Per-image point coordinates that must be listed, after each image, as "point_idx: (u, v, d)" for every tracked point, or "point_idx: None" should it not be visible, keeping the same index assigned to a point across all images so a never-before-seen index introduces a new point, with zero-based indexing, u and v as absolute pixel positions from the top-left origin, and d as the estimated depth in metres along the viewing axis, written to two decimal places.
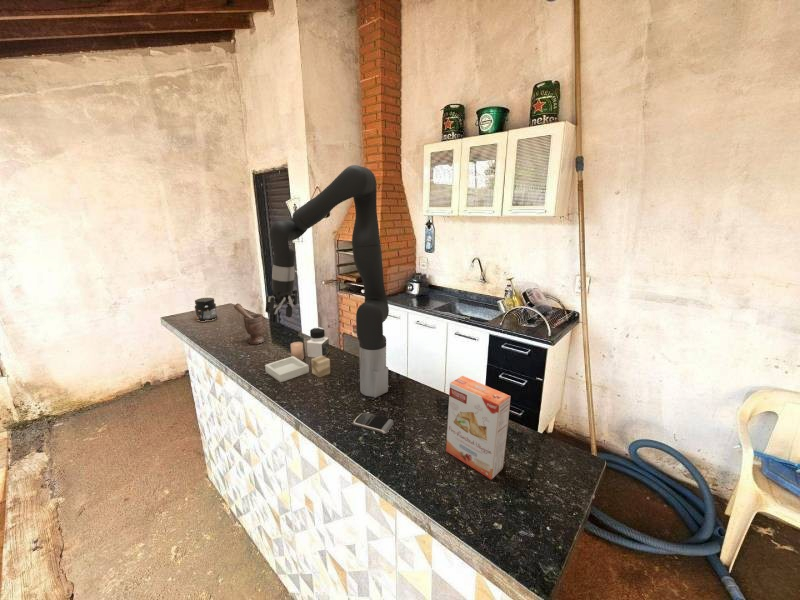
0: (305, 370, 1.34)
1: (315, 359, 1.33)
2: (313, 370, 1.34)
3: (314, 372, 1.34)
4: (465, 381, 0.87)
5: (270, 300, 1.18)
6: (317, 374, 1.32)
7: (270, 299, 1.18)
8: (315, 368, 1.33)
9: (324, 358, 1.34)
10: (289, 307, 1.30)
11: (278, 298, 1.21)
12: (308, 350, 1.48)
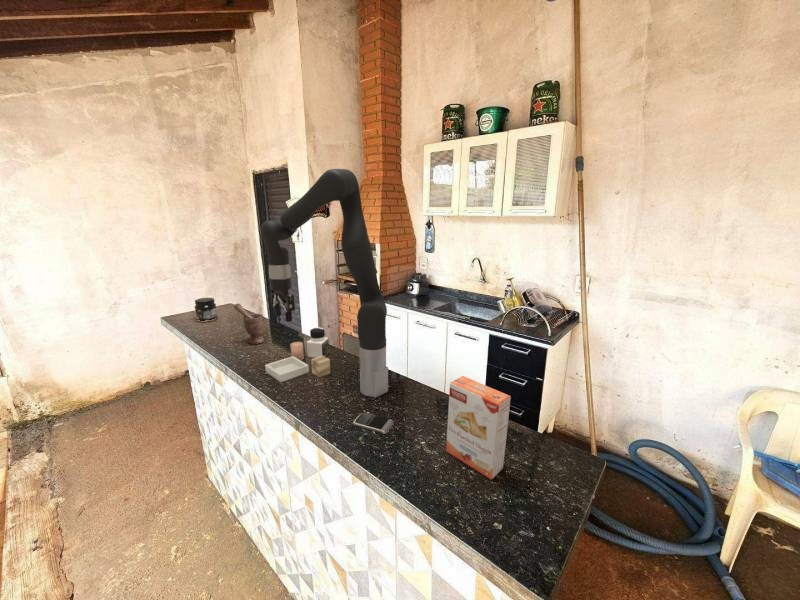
0: (305, 370, 1.34)
1: (315, 359, 1.33)
2: (313, 370, 1.34)
3: (314, 372, 1.34)
4: (465, 381, 0.87)
5: None
6: (317, 374, 1.32)
7: None
8: (315, 368, 1.33)
9: (324, 358, 1.34)
10: None
11: (274, 293, 1.29)
12: (308, 350, 1.48)
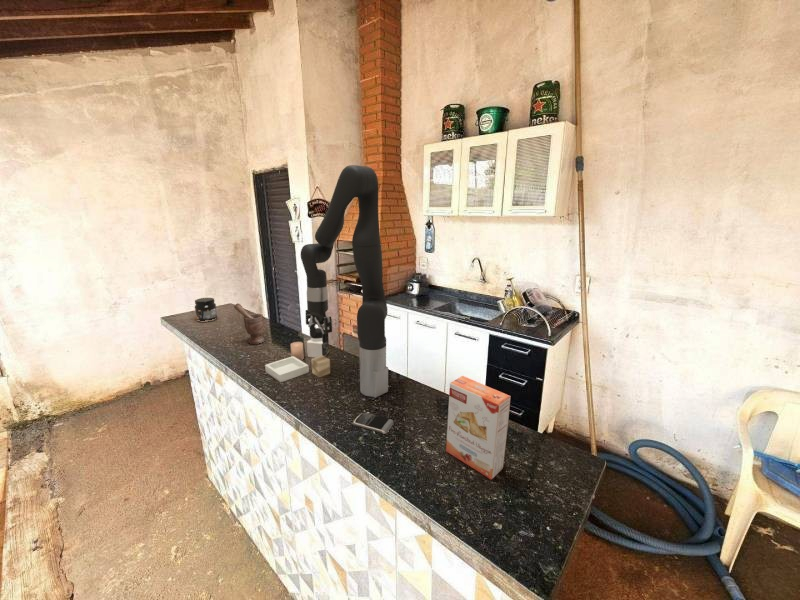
0: (305, 370, 1.34)
1: (315, 359, 1.33)
2: (313, 370, 1.34)
3: (314, 372, 1.34)
4: (465, 381, 0.87)
5: None
6: (317, 374, 1.32)
7: None
8: (315, 368, 1.33)
9: (324, 358, 1.34)
10: None
11: (310, 314, 1.30)
12: (308, 350, 1.48)
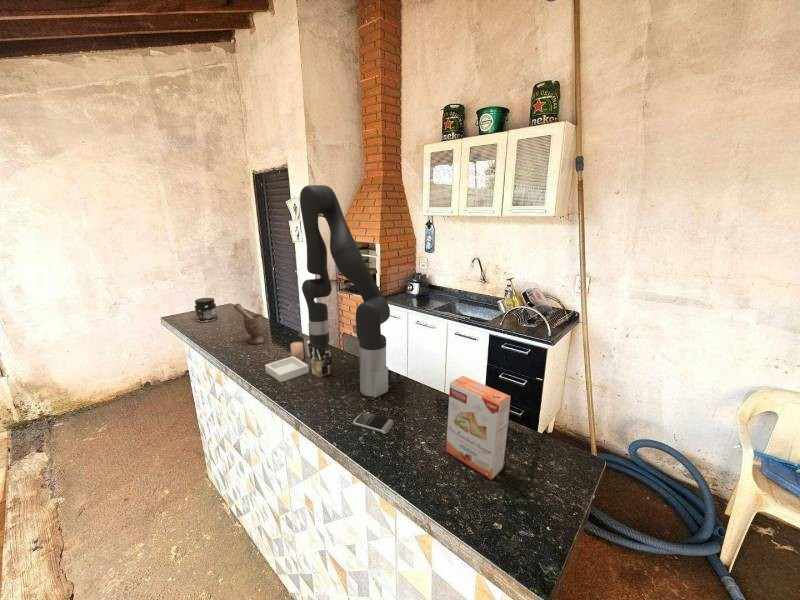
0: (305, 370, 1.34)
1: (315, 359, 1.33)
2: (313, 370, 1.34)
3: (314, 372, 1.34)
4: (465, 381, 0.87)
5: None
6: (317, 374, 1.32)
7: None
8: (315, 368, 1.33)
9: None
10: None
11: (312, 347, 1.34)
12: (308, 350, 1.48)
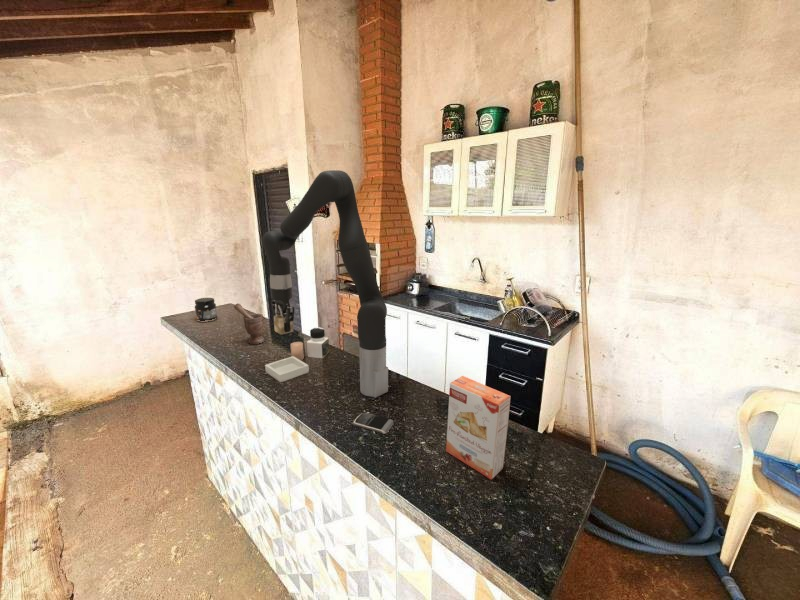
0: (305, 370, 1.34)
1: (277, 316, 1.29)
2: (275, 327, 1.30)
3: (276, 329, 1.30)
4: (465, 381, 0.87)
5: None
6: (279, 331, 1.28)
7: None
8: (277, 325, 1.29)
9: None
10: None
11: (275, 304, 1.30)
12: (308, 350, 1.48)
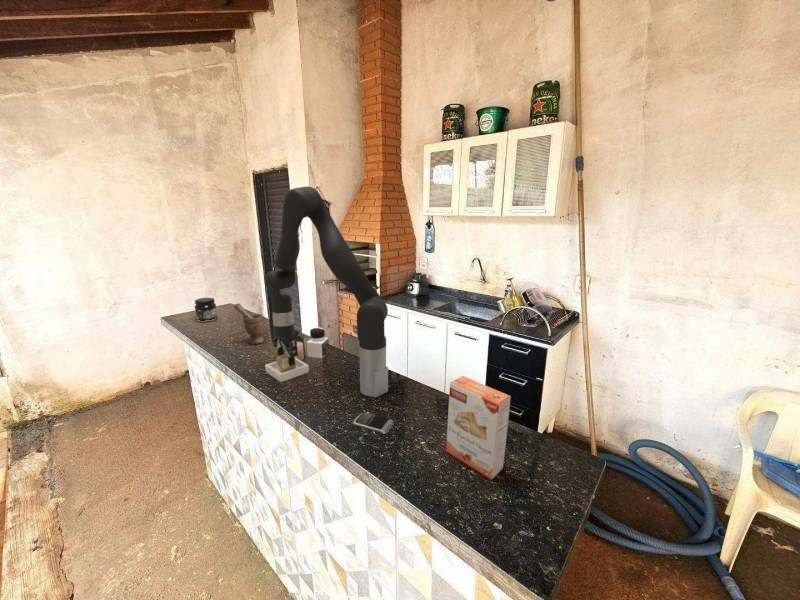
0: (305, 370, 1.34)
1: (280, 356, 1.34)
2: (279, 367, 1.34)
3: (280, 369, 1.34)
4: (465, 381, 0.87)
5: None
6: (282, 371, 1.33)
7: None
8: (280, 365, 1.33)
9: None
10: None
11: (277, 337, 1.34)
12: (308, 350, 1.48)
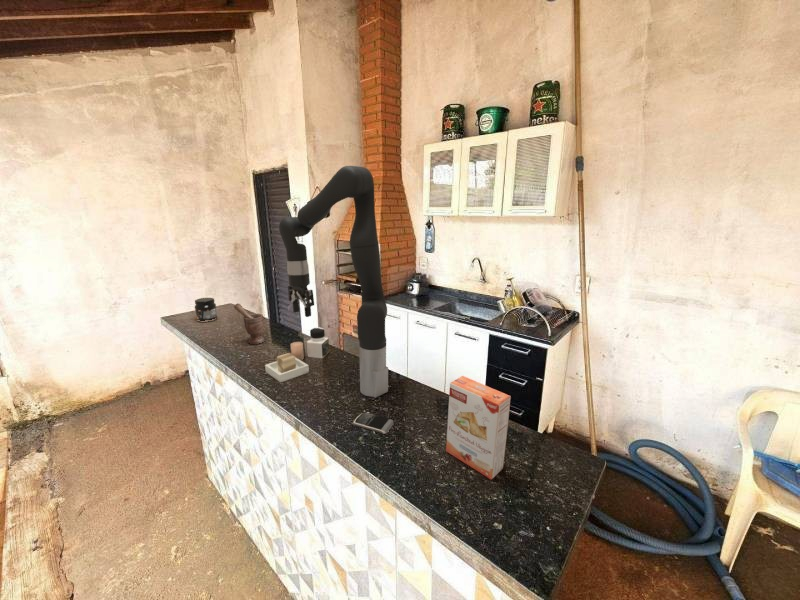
0: (305, 370, 1.34)
1: (280, 356, 1.34)
2: (279, 367, 1.34)
3: (280, 369, 1.34)
4: (465, 381, 0.87)
5: None
6: (282, 371, 1.33)
7: None
8: (280, 365, 1.33)
9: (290, 355, 1.35)
10: None
11: (292, 289, 1.31)
12: (308, 350, 1.48)
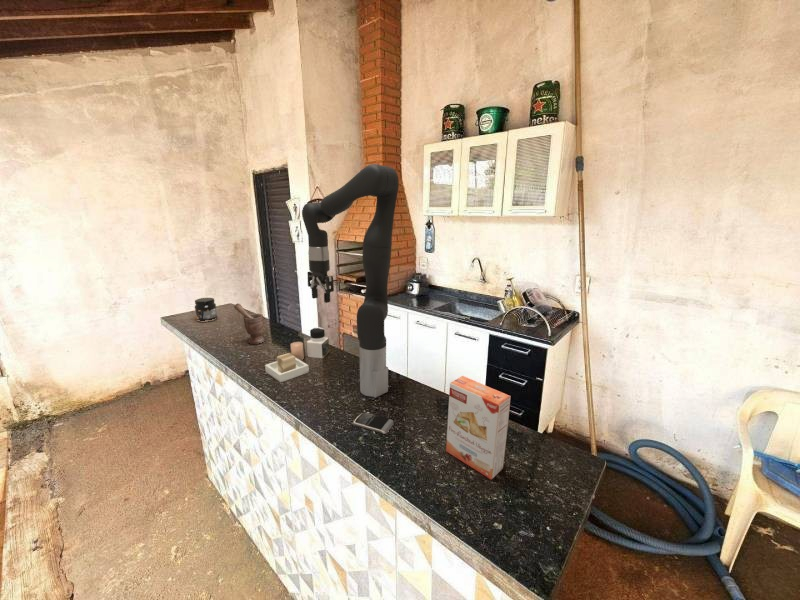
0: (305, 370, 1.34)
1: (280, 356, 1.34)
2: (279, 367, 1.34)
3: (280, 369, 1.34)
4: (465, 381, 0.87)
5: None
6: (282, 371, 1.33)
7: None
8: (280, 365, 1.33)
9: (290, 355, 1.35)
10: None
11: (312, 275, 1.32)
12: (308, 350, 1.48)
